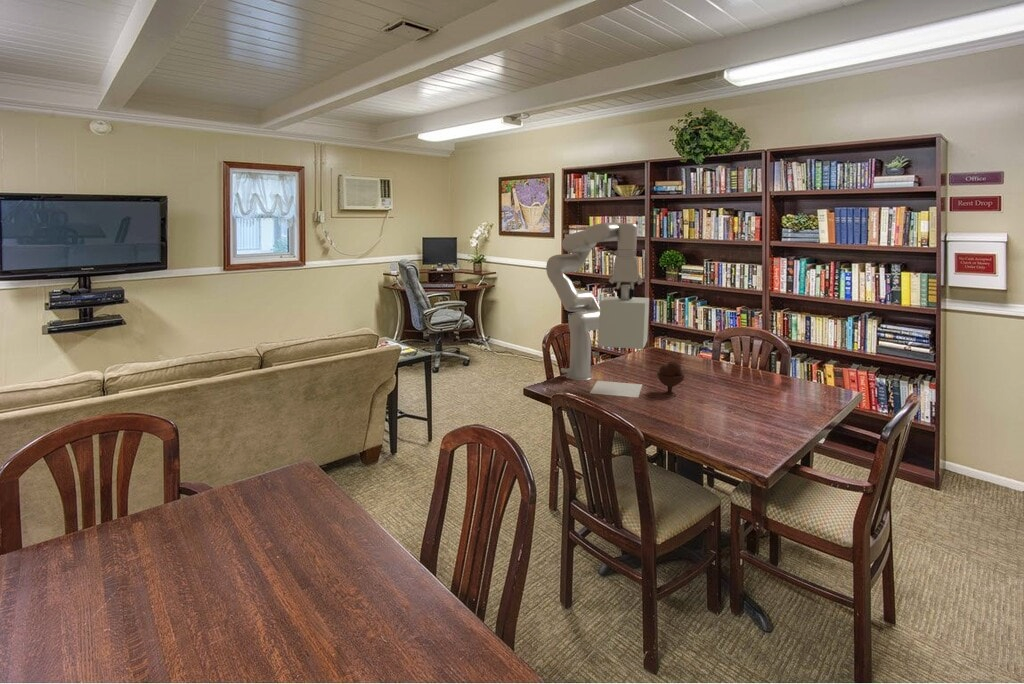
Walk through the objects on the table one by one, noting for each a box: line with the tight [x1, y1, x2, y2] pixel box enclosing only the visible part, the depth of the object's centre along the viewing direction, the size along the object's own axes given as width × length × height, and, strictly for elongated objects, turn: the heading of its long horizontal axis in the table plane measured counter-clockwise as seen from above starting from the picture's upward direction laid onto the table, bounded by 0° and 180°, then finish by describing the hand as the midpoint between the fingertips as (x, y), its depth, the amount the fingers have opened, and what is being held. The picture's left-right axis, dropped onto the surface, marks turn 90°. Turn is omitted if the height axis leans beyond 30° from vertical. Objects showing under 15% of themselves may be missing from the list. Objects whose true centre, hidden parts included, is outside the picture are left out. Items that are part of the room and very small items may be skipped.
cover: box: [598, 284, 650, 350], centre depth 238 cm, size 18×18×25 cm
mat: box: [589, 380, 643, 398], centre depth 245 cm, size 20×20×1 cm
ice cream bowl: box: [656, 360, 685, 398], centre depth 238 cm, size 11×11×15 cm
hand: (625, 298), depth 237 cm, fingers closed on cover, 4 cm apart
